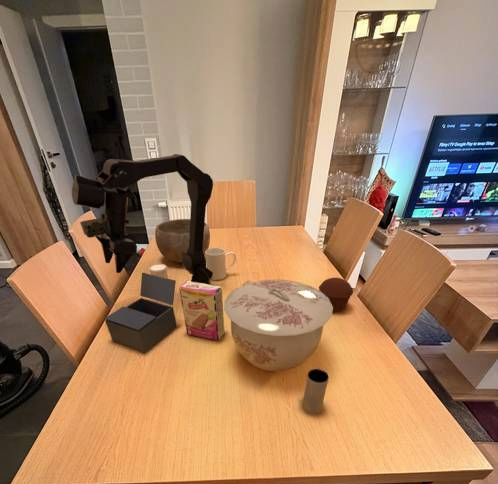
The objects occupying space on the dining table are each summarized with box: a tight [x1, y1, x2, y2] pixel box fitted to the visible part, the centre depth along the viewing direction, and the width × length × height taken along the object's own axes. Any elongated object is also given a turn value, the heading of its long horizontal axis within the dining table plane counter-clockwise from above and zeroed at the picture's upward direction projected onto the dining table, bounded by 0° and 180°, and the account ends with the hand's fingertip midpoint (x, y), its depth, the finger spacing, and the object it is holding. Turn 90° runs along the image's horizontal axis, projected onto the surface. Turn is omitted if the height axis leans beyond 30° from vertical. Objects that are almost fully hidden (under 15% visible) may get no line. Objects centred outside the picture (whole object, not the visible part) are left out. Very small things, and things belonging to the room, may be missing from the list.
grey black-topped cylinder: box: [301, 368, 330, 415], centre depth 68 cm, size 4×4×10 cm
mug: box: [204, 247, 237, 281], centre depth 123 cm, size 12×8×10 cm, turn 98°
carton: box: [103, 297, 178, 354], centre depth 92 cm, size 15×13×8 cm
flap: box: [139, 272, 177, 306], centre depth 93 cm, size 7×13×1 cm
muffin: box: [318, 277, 354, 314], centre depth 103 cm, size 12×11×10 cm
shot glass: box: [148, 263, 169, 279], centre depth 118 cm, size 7×7×7 cm
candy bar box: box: [178, 280, 225, 342], centre depth 89 cm, size 11×5×16 cm, turn 71°
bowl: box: [154, 218, 211, 263], centre depth 135 cm, size 24×24×15 cm
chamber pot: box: [223, 279, 333, 372], centre depth 80 cm, size 28×28×21 cm
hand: (112, 267), depth 90 cm, fingers open, 9 cm apart
